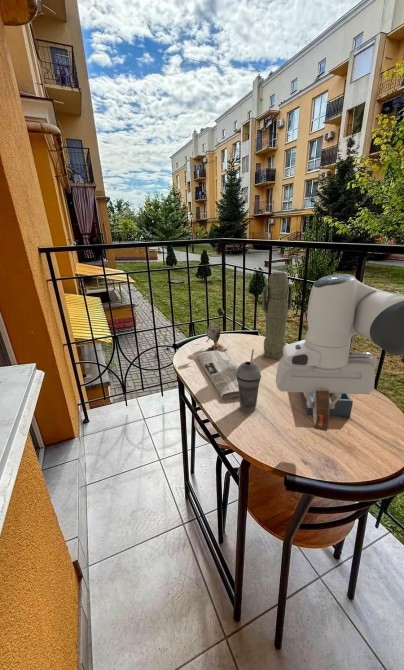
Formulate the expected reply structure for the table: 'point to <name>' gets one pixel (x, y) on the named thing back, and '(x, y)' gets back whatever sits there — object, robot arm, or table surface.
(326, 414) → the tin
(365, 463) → the table surface
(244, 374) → the beverage cup
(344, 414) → the bin
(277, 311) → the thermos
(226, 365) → the newspaper
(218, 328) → the plant with pod
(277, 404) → the table surface
